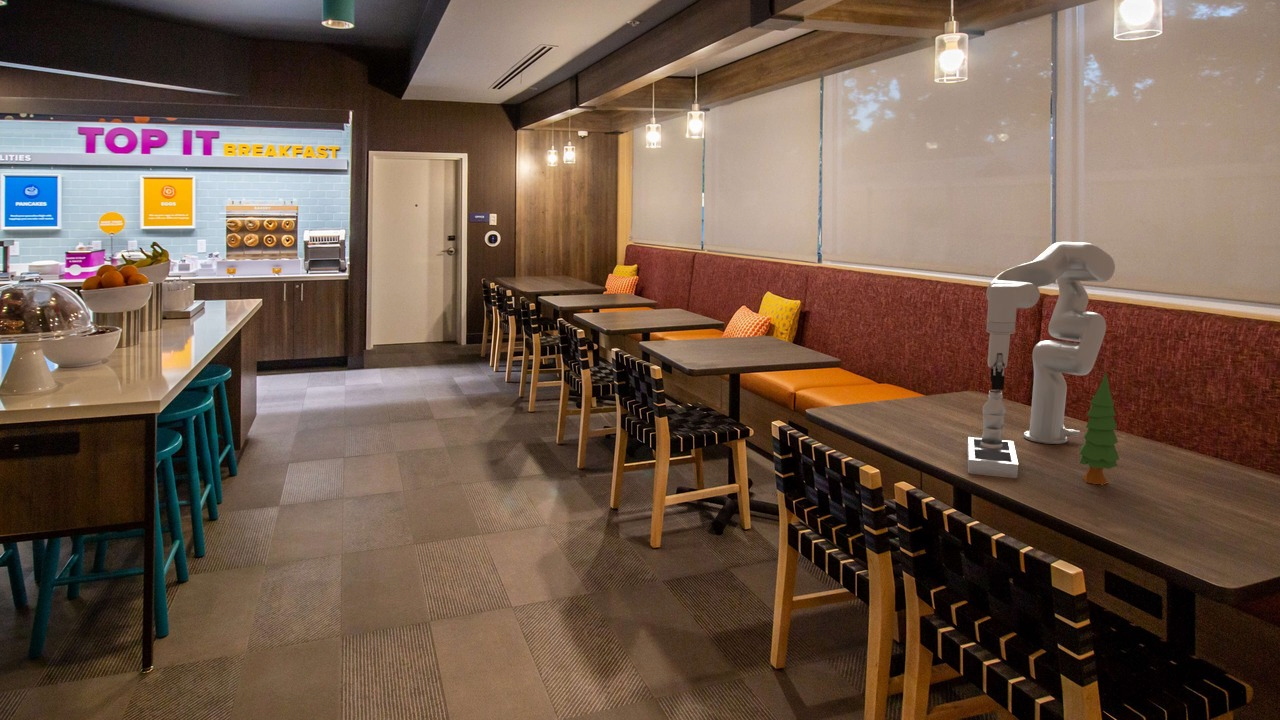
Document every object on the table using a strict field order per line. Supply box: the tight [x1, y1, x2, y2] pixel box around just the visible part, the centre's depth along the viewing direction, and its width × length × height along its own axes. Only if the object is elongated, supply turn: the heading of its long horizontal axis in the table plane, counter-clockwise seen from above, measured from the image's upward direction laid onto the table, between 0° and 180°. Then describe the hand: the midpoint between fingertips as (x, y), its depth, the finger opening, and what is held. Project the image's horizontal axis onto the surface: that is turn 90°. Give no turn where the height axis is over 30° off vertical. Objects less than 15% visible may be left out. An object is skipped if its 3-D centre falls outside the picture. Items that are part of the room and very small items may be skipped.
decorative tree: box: [1079, 371, 1120, 485], centre depth 222 cm, size 10×9×30 cm
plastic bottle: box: [979, 389, 1007, 450], centre depth 244 cm, size 6×7×20 cm
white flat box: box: [966, 436, 1019, 479], centre depth 241 cm, size 12×24×4 cm, turn 160°
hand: (996, 385), depth 243 cm, fingers open, 9 cm apart
